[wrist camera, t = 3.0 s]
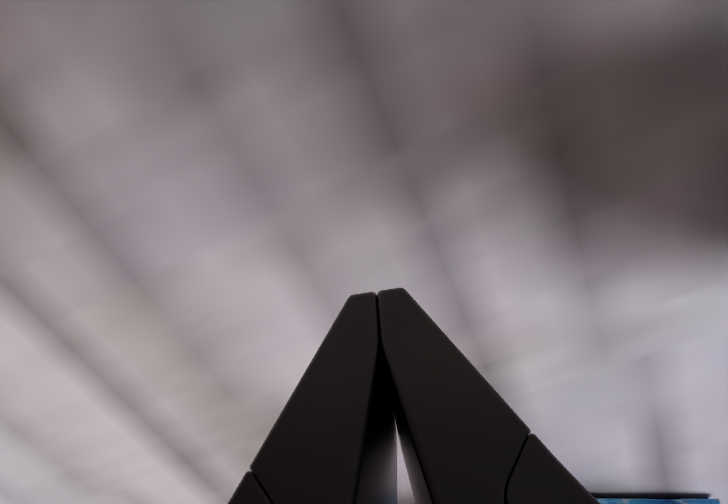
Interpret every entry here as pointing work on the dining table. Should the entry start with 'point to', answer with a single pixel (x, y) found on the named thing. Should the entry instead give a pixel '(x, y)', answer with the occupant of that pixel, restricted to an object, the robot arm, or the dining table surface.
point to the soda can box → (657, 501)
